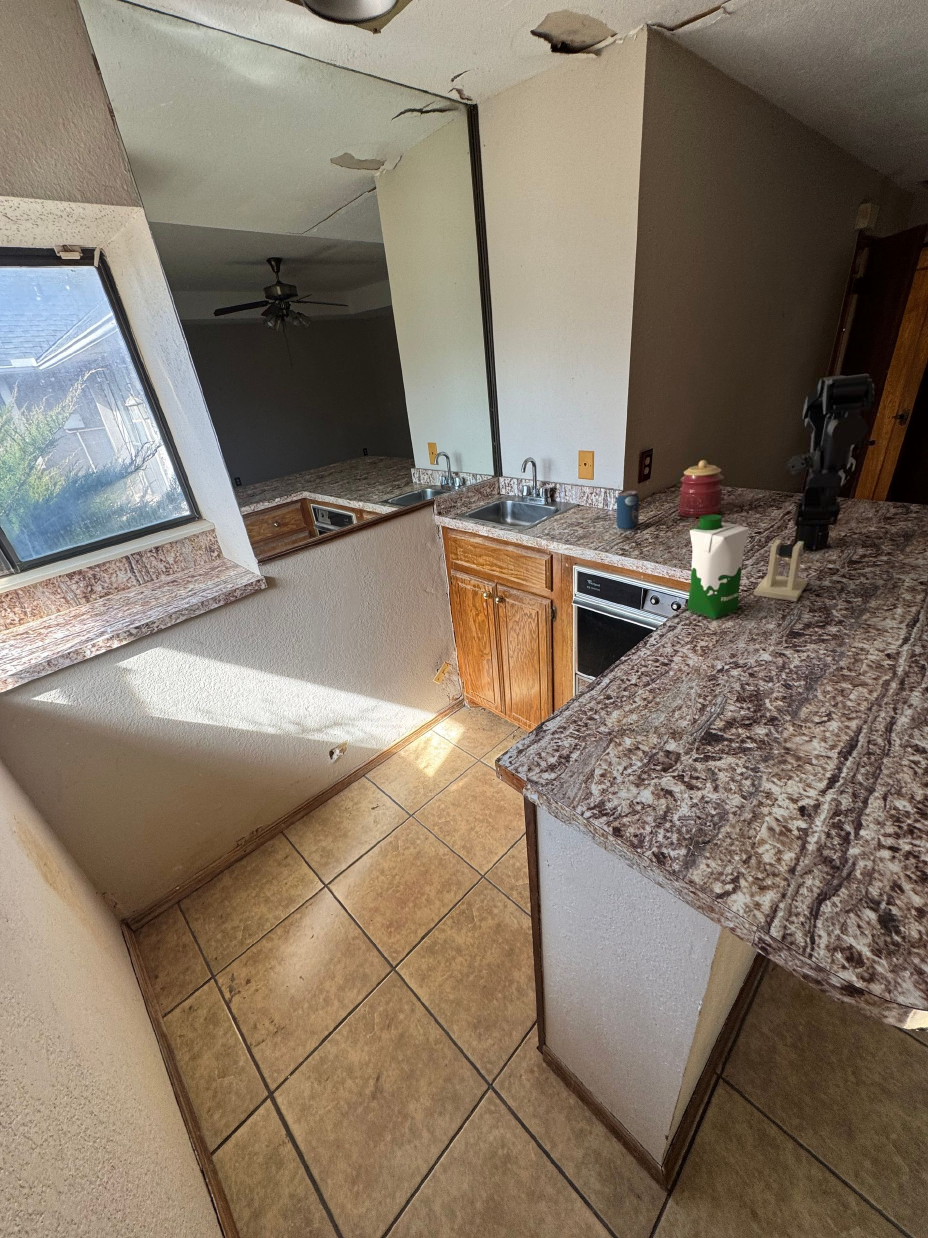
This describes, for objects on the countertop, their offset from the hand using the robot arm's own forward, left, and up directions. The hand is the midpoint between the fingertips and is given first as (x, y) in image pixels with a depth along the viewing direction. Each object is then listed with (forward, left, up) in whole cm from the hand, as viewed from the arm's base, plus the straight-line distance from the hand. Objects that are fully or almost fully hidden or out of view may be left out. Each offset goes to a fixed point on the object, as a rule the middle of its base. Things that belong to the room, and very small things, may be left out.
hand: (824, 509), depth 111 cm
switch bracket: (+7, -19, -13) cm, 24 cm away
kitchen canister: (-52, +13, -13) cm, 55 cm away
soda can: (-55, -14, -13) cm, 58 cm away
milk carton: (+6, -37, -13) cm, 40 cm away
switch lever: (+5, -16, -8) cm, 19 cm away
